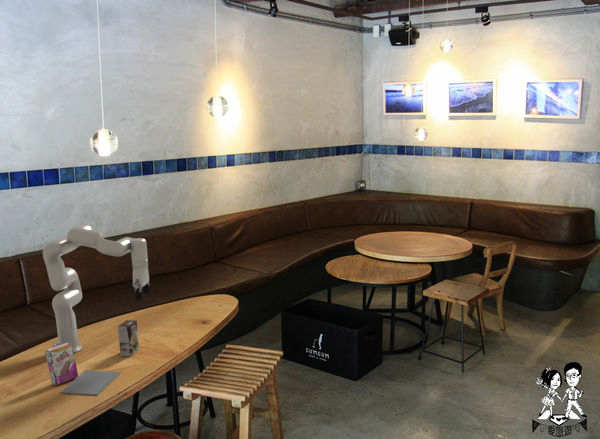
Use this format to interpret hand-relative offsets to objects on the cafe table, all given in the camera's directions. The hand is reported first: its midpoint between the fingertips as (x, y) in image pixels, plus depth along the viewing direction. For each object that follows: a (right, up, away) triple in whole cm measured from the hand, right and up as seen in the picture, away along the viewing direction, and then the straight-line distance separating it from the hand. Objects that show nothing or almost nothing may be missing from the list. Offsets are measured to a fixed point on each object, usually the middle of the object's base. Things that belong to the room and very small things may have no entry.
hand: (142, 296), depth 297 cm
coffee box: (-9, -30, +8) cm, 33 cm away
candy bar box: (-30, -37, -22) cm, 52 cm away
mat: (-17, -37, -24) cm, 47 cm away
